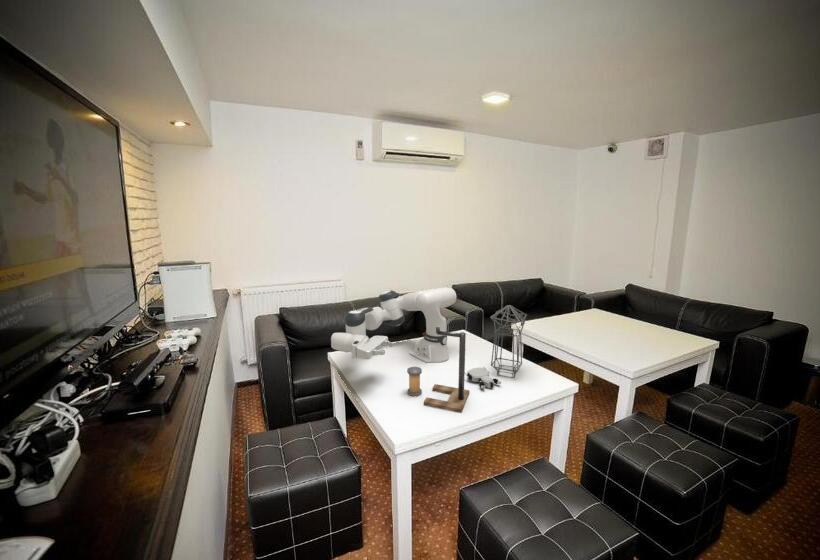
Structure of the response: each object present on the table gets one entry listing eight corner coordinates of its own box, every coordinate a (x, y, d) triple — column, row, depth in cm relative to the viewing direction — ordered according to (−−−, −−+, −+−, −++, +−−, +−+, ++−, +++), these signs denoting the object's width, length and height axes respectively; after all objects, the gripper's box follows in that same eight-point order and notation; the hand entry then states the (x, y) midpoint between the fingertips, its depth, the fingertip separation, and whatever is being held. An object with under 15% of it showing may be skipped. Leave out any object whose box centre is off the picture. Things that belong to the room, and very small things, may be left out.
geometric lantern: (487, 376, 164) (489, 307, 158) (494, 364, 178) (497, 300, 172) (520, 383, 157) (523, 310, 151) (525, 370, 170) (529, 303, 165)
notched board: (423, 405, 139) (423, 401, 139) (434, 387, 154) (434, 384, 154) (461, 412, 133) (461, 409, 133) (469, 393, 148) (469, 390, 148)
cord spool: (404, 393, 149) (404, 370, 147) (413, 387, 153) (413, 365, 151) (415, 398, 145) (415, 374, 142) (424, 392, 149) (424, 369, 147)
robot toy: (502, 388, 154) (482, 372, 167) (503, 379, 153) (483, 364, 166) (481, 394, 149) (462, 378, 162) (481, 385, 148) (462, 369, 161)
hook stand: (434, 394, 144) (435, 328, 138) (436, 392, 146) (436, 326, 141) (463, 400, 140) (465, 331, 134) (464, 397, 142) (466, 330, 136)
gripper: (372, 343, 165) (398, 347, 160) (350, 359, 146) (379, 364, 141) (372, 331, 164) (397, 334, 159) (350, 346, 145) (378, 350, 140)
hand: (388, 348), depth 150 cm, fingers open, 8 cm apart
